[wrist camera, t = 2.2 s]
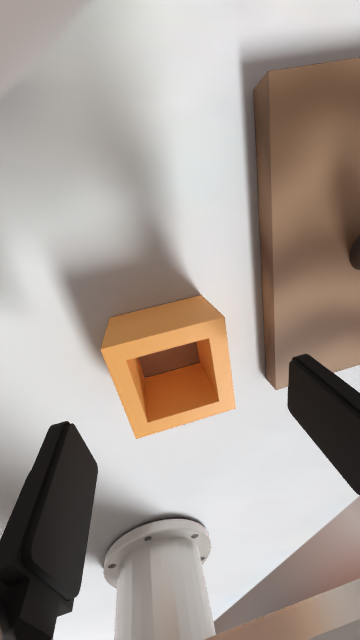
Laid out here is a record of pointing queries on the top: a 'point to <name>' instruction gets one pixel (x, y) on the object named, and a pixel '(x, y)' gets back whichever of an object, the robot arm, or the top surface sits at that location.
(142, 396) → the orange square ring
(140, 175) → the top surface
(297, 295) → the board
